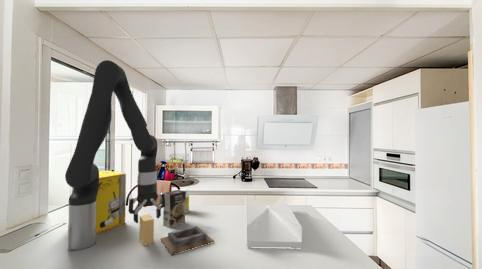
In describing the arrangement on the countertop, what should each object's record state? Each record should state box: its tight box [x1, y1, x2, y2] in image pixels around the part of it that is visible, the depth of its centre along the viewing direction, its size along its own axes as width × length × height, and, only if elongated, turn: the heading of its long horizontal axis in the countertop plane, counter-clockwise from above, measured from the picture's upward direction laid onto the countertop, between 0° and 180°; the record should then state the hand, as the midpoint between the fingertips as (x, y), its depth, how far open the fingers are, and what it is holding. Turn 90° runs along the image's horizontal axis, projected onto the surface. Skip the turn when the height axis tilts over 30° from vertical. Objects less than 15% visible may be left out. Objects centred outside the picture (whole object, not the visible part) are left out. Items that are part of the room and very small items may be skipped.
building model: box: [244, 195, 303, 248], centre depth 114 cm, size 45×22×10 cm, turn 0°
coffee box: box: [162, 189, 186, 229], centre depth 114 cm, size 9×6×16 cm
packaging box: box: [71, 170, 127, 235], centre depth 110 cm, size 16×16×25 cm
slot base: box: [160, 225, 215, 256], centre depth 96 cm, size 18×14×4 cm
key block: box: [138, 213, 155, 246], centre depth 96 cm, size 4×7×10 cm, turn 36°
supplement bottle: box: [179, 188, 190, 214], centre depth 131 cm, size 7×7×13 cm
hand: (147, 220), depth 96 cm, fingers open, 8 cm apart
